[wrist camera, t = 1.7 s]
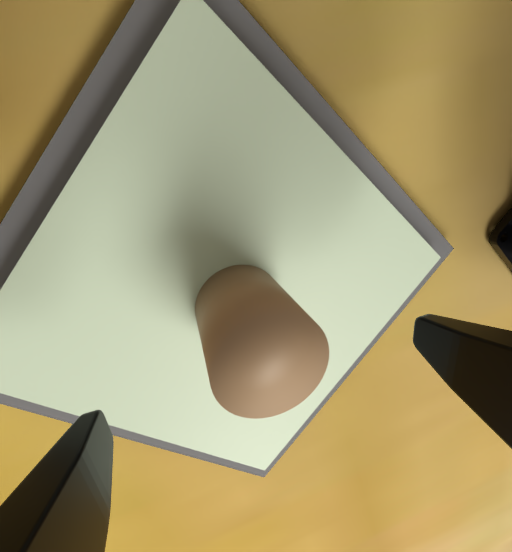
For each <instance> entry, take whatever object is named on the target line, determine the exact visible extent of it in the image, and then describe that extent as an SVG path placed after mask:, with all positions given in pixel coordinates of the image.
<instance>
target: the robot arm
mask: <svg viewBox="0 0 512 552" xmlns="http://www.w3.org/2000/svg"><path fill="white" fill-rule="evenodd" d="M489 242H490V244H491V245H492V247H493V248H494V249H495V250H496V252H497V253H498V254H499V256H500V257H501V258H502V260H503V261H504V262H505V264H506V265H507V266H508V268H509V269H510V270H511V272H512V208H511V209H510V211H509V212H508V213H507V214H506V215H505V216H504V218H503V219H502V220H501V221H500V222H499V224H498V225H497V226H496V227H495V228H494V230H493V231H492V232H491V234H490V237H489ZM413 343H414V345H415V347H416V348H417V350H418V351H419V352H420V353H421V354H422V356H423V357H424V358H425V359H426V360H427V361H428V363H429V364H430V365H431V366H432V367H433V368H434V370H435V371H436V372H437V373H438V374H439V375H440V377H441V378H442V379H443V380H444V381H445V382H446V383H447V385H448V386H449V387H450V388H451V389H452V390H453V391H454V392H455V393H456V394H457V395H458V396H459V397H460V398H461V399H462V400H463V401H464V402H465V403H466V404H467V405H468V406H469V407H470V408H471V409H472V410H473V411H474V412H475V413H476V414H477V415H478V416H479V417H480V418H481V419H482V420H483V421H484V422H485V423H486V424H487V425H488V426H489V427H490V428H491V429H492V430H493V431H494V432H495V433H496V434H497V435H498V436H499V437H500V438H501V439H502V440H503V441H504V442H505V443H506V444H507V445H508V446H509V447H510V448H512V331H509V330H504V329H500V328H495V327H490V326H485V325H480V324H476V323H471V322H466V321H461V320H456V319H452V318H447V317H442V316H437V315H432V314H427V315H423V316H420V317H418V318H416V320H415V325H414V334H413ZM112 464H113V435H112V432H111V430H110V427H109V425H108V423H107V420H106V418H105V415H104V413H103V412H102V411H101V410H95V411H91V412H88V413H84V414H82V415H81V416H80V417H79V418H78V419H77V420H76V421H75V422H74V423H73V424H72V426H71V427H70V428H69V429H68V430H67V431H66V432H65V434H64V435H63V436H62V437H61V438H60V439H59V440H58V441H57V443H56V444H55V445H54V446H53V447H52V448H51V449H50V450H49V452H48V453H47V454H46V455H45V456H44V457H43V458H42V459H41V461H40V462H39V463H38V464H37V465H36V466H35V467H34V468H33V470H32V471H31V472H30V473H29V474H28V475H27V476H26V478H25V479H24V480H23V481H22V482H21V483H20V484H19V485H18V487H17V488H16V489H15V490H14V491H13V492H12V493H11V494H10V496H9V497H8V498H7V499H6V500H5V501H4V502H3V503H2V505H1V506H0V552H105V546H106V539H107V532H108V525H109V517H110V507H111V487H112Z"/></svg>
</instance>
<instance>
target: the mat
mask: <svg viewBox="0 0 512 552" xmlns="http://www.w3.org/2000/svg"><path fill="white" fill-rule="evenodd" d="M203 1H204V2H205V3H206V4H207V5H208V6H209V7H210V8H211V9H212V10H213V12H214V13H215V14H216V15H217V16H218V17H219V18H220V19H221V20H222V21H223V22H224V23H225V25H226V26H227V27H228V28H229V29H230V30H231V31H232V32H233V33H234V34H235V35H236V36H237V37H238V39H239V40H240V41H241V42H242V43H243V44H244V45H245V46H246V47H247V48H248V49H249V50H250V52H251V53H252V54H253V55H254V56H255V57H256V58H257V59H258V60H259V61H260V62H261V63H262V65H263V66H264V67H265V68H266V69H267V70H268V71H269V72H270V73H271V74H272V75H273V76H274V78H275V79H276V80H277V81H278V82H279V83H280V84H281V85H282V86H283V87H284V88H285V89H286V90H287V92H288V93H289V94H290V95H291V96H292V97H293V98H294V99H295V100H296V101H297V102H298V103H299V105H300V106H301V107H302V108H303V109H304V110H305V111H306V112H307V113H308V114H309V115H310V116H311V118H312V119H313V120H314V121H315V122H316V123H317V124H318V125H319V126H320V127H321V128H322V129H323V131H324V132H325V133H326V134H327V135H328V136H329V137H330V138H331V139H332V140H333V141H334V142H335V143H336V145H337V146H338V147H339V148H340V149H341V150H342V151H343V152H344V153H345V154H346V155H347V156H348V158H349V159H350V160H351V161H352V162H353V163H354V164H355V165H356V166H357V167H358V168H359V169H360V171H361V172H362V173H363V174H364V175H365V176H366V177H367V178H368V179H369V180H370V181H371V182H372V184H373V185H374V186H375V187H376V188H377V189H378V190H379V191H380V192H381V193H382V194H383V195H384V196H385V198H386V199H387V200H388V201H389V202H390V203H391V204H392V205H393V206H394V207H395V208H396V209H397V211H398V212H399V213H400V214H401V215H402V216H403V217H404V218H405V219H406V220H407V221H408V222H409V224H410V225H411V226H412V227H413V228H414V229H415V230H416V231H417V232H418V233H419V234H420V235H421V237H422V238H423V239H424V240H425V241H426V242H427V243H428V244H429V245H430V246H431V247H432V248H433V249H434V251H435V252H436V253H437V254H438V255H439V256H440V257H441V258H440V259H439V260H438V262H437V263H436V264H435V265H434V266H433V268H432V269H431V270H430V271H429V273H428V274H427V275H426V276H425V277H424V279H423V280H422V281H421V282H420V283H419V285H418V286H417V287H416V288H415V289H414V291H413V292H412V293H411V294H410V295H409V297H408V298H407V299H406V300H405V302H404V303H403V304H402V305H401V306H400V308H399V309H398V310H397V311H396V312H395V314H394V315H393V316H392V317H391V318H390V320H389V321H388V322H387V323H386V325H385V326H384V327H383V328H382V329H381V331H380V332H379V333H378V334H377V335H376V337H375V338H374V339H373V340H372V341H371V343H370V344H369V345H368V346H367V348H366V349H365V350H364V351H363V352H362V354H361V355H360V356H359V357H358V358H357V360H356V361H355V362H354V363H353V364H352V366H351V367H350V368H349V369H348V371H347V372H346V373H345V374H344V375H343V377H342V378H341V379H340V380H339V381H338V383H337V384H336V385H335V386H334V387H333V389H332V390H331V391H330V392H329V394H328V395H327V396H326V397H325V398H324V400H323V401H322V402H321V403H320V404H319V406H318V407H317V408H316V409H315V410H314V412H313V413H312V414H311V415H310V417H309V418H308V419H307V420H306V421H305V423H304V424H303V425H302V426H301V427H300V429H299V430H298V431H297V432H296V433H295V435H294V436H293V437H292V438H291V440H290V441H289V442H288V443H287V444H286V446H285V447H284V448H283V449H282V450H281V452H280V453H279V454H278V455H277V456H276V458H275V459H274V460H273V461H272V463H271V464H270V465H269V466H268V467H267V469H266V470H261V469H258V468H254V467H251V466H248V465H244V464H241V463H237V462H234V461H231V460H227V459H224V458H220V457H217V456H213V455H210V454H207V453H203V452H200V451H196V450H193V449H190V448H186V447H183V446H179V445H176V444H172V443H169V442H166V441H162V440H159V439H155V438H152V437H149V436H145V435H142V434H138V433H135V432H131V431H128V430H125V429H121V428H118V427H114V426H111V425H109V427H110V430H111V432H112V435H115V436H118V437H122V438H125V439H129V440H133V441H136V442H140V443H143V444H147V445H150V446H154V447H158V448H161V449H165V450H168V451H172V452H176V453H179V454H183V455H186V456H190V457H193V458H197V459H201V460H204V461H208V462H211V463H215V464H219V465H222V466H226V467H229V468H233V469H236V470H240V471H244V472H247V473H251V474H254V475H258V476H261V477H265V476H266V474H267V473H268V472H269V471H270V470H271V468H272V467H273V466H274V465H275V464H276V462H277V461H278V460H279V459H280V458H281V456H282V455H283V454H284V453H285V451H286V450H287V449H288V448H289V447H290V445H291V444H292V443H293V442H294V441H295V439H296V438H297V437H298V436H299V435H300V433H301V432H302V431H303V430H304V429H305V427H306V426H307V425H308V424H309V423H310V421H311V420H312V419H313V418H314V417H315V415H316V414H317V413H318V412H319V410H320V409H321V408H322V407H323V406H324V404H325V403H326V402H327V401H328V400H329V398H330V397H331V396H332V395H333V394H334V392H335V391H336V390H337V389H338V388H339V386H340V385H341V384H342V383H343V382H344V380H345V379H346V378H347V377H348V375H349V374H350V373H351V372H352V371H353V369H354V368H355V367H356V366H357V365H358V363H359V362H360V361H361V360H362V359H363V357H364V356H365V355H366V354H367V353H368V351H369V350H370V349H371V348H372V347H373V345H374V344H375V343H376V342H377V341H378V339H379V338H380V337H381V336H382V334H383V333H384V332H385V331H386V330H387V328H388V327H389V326H390V325H391V324H392V322H393V321H394V320H395V319H396V318H397V316H398V315H399V314H400V313H401V312H402V310H403V309H404V308H405V307H406V306H407V304H408V303H409V302H410V301H411V299H412V298H413V297H414V296H415V295H416V293H417V292H418V291H419V290H420V289H421V287H422V286H423V285H424V284H425V283H426V281H427V280H428V279H429V278H430V277H431V275H432V274H433V273H434V272H435V271H436V269H437V268H438V267H439V266H440V264H441V263H442V262H443V261H444V260H445V258H446V257H447V256H448V255H449V254H450V252H451V251H452V250H453V249H454V248H453V247H452V246H451V245H450V244H449V243H448V241H447V240H446V239H445V238H444V237H443V236H442V235H441V233H440V232H439V231H438V230H437V229H436V228H435V226H434V225H433V224H432V223H431V222H430V221H429V220H428V218H427V217H426V216H425V215H424V214H423V213H422V211H421V210H420V209H419V208H418V207H417V206H416V205H415V203H414V202H413V201H412V200H411V199H410V198H409V197H408V195H407V194H406V193H405V192H404V191H403V190H402V188H401V187H400V186H399V185H398V184H397V183H396V182H395V180H394V179H393V178H392V177H391V176H390V175H389V173H388V172H387V171H386V170H385V169H384V168H383V167H382V165H381V164H380V163H379V162H378V161H377V160H376V158H375V157H374V156H373V155H372V154H371V153H370V152H369V150H368V149H367V148H366V147H365V146H364V145H363V144H362V142H361V141H360V140H359V139H358V138H357V137H356V135H355V134H354V133H353V132H352V131H351V130H350V129H349V127H348V126H347V125H346V124H345V123H344V122H343V120H342V119H341V118H340V117H339V116H338V115H337V114H336V112H335V111H334V110H333V109H332V108H331V107H330V105H329V104H328V103H327V102H326V101H325V100H324V99H323V97H322V96H321V95H320V94H319V93H318V92H317V91H316V89H315V88H314V87H313V86H312V85H311V84H310V82H309V81H308V80H307V79H306V78H305V77H304V76H303V74H302V73H301V72H300V71H299V70H298V69H297V67H296V66H295V65H294V64H293V63H292V62H291V61H290V59H289V58H288V57H287V56H286V55H285V54H284V52H283V51H282V50H281V49H280V48H279V47H278V46H277V44H276V43H275V42H274V41H273V40H272V39H271V38H270V36H269V35H268V34H267V33H266V32H265V31H264V29H263V28H262V27H261V26H260V25H259V24H258V23H257V21H256V20H255V19H254V18H253V17H252V16H251V14H250V13H249V12H248V11H247V10H246V9H245V8H244V6H243V5H242V4H241V3H240V2H239V1H238V0H203ZM179 2H180V0H135V1H134V3H133V5H132V6H131V8H130V10H129V11H128V13H127V15H126V16H125V18H124V20H123V21H122V23H121V25H120V26H119V28H118V30H117V31H116V33H115V35H114V36H113V38H112V40H111V41H110V43H109V45H108V46H107V48H106V50H105V51H104V53H103V55H102V56H101V58H100V60H99V61H98V63H97V65H96V66H95V68H94V69H93V71H92V73H91V74H90V76H89V78H88V79H87V81H86V83H85V84H84V86H83V88H82V89H81V91H80V93H79V94H78V96H77V98H76V99H75V101H74V103H73V104H72V106H71V108H70V109H69V111H68V113H67V114H66V116H65V118H64V119H63V121H62V123H61V124H60V126H59V128H58V129H57V131H56V133H55V134H54V136H53V138H52V139H51V141H50V143H49V144H48V146H47V148H46V149H45V151H44V152H43V154H42V156H41V157H40V159H39V161H38V162H37V164H36V166H35V167H34V169H33V171H32V172H31V174H30V176H29V177H28V179H27V181H26V182H25V184H24V186H23V187H22V189H21V191H20V192H19V194H18V196H17V197H16V199H15V201H14V202H13V204H12V206H11V207H10V209H9V211H8V212H7V214H6V216H5V217H4V219H3V221H2V222H1V224H0V290H1V288H2V287H3V285H4V283H5V282H6V280H7V279H8V277H9V275H10V274H11V272H12V271H13V269H14V267H15V266H16V264H17V262H18V261H19V259H20V258H21V256H22V254H23V253H24V251H25V250H26V248H27V246H28V245H29V243H30V242H31V240H32V238H33V237H34V235H35V234H36V232H37V230H38V229H39V227H40V226H41V224H42V222H43V221H44V219H45V217H46V216H47V214H48V213H49V211H50V209H51V208H52V206H53V205H54V203H55V201H56V200H57V198H58V197H59V195H60V193H61V192H62V190H63V189H64V187H65V185H66V184H67V182H68V181H69V179H70V177H71V176H72V174H73V172H74V171H75V169H76V168H77V166H78V164H79V163H80V161H81V160H82V158H83V156H84V155H85V153H86V152H87V150H88V148H89V147H90V145H91V144H92V142H93V140H94V139H95V137H96V135H97V134H98V132H99V131H100V129H101V127H102V126H103V124H104V123H105V121H106V119H107V118H108V116H109V115H110V113H111V111H112V110H113V108H114V107H115V105H116V103H117V102H118V100H119V99H120V97H121V95H122V94H123V92H124V90H125V89H126V87H127V86H128V84H129V82H130V81H131V79H132V78H133V76H134V74H135V73H136V71H137V70H138V68H139V66H140V65H141V63H142V62H143V60H144V58H145V57H146V55H147V53H148V52H149V50H150V49H151V47H152V45H153V44H154V42H155V41H156V39H157V37H158V36H159V34H160V33H161V31H162V29H163V28H164V26H165V25H166V23H167V21H168V20H169V18H170V17H171V15H172V13H173V12H174V10H175V8H176V7H177V5H178V4H179ZM0 404H4V405H7V406H11V407H14V408H18V409H21V410H25V411H29V412H32V413H36V414H39V415H43V416H47V417H50V418H54V419H57V420H61V421H64V422H68V423H72V424H73V423H74V422H75V421H76V420H77V419H78V418H79V417H80V416H77V415H73V414H70V413H67V412H63V411H60V410H56V409H53V408H49V407H46V406H43V405H39V404H36V403H32V402H29V401H26V400H22V399H19V398H15V397H12V396H8V395H5V394H2V393H0Z"/></svg>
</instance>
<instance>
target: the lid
mask: <svg viewBox="0 0 512 552" xmlns="http://www.w3.org/2000/svg"><path fill="white" fill-rule="evenodd" d="M440 258H441V257H440V256H439V255H438V254H437V253H436V252H435V251H434V249H433V248H432V247H431V246H430V245H429V244H428V243H427V242H426V241H425V240H424V239H423V238H422V237H421V235H420V234H419V233H418V232H417V231H416V230H415V229H414V228H413V227H412V226H411V225H410V224H409V222H408V221H407V220H406V219H405V218H404V217H403V216H402V215H401V214H400V213H399V212H398V211H397V209H396V208H395V207H394V206H393V205H392V204H391V203H390V202H389V201H388V200H387V199H386V198H385V196H384V195H383V194H382V193H381V192H380V191H379V190H378V189H377V188H376V187H375V186H374V185H373V184H372V182H371V181H370V180H369V179H368V178H367V177H366V176H365V175H364V174H363V173H362V172H361V171H360V169H359V168H358V167H357V166H356V165H355V164H354V163H353V162H352V161H351V160H350V159H349V158H348V156H347V155H346V154H345V153H344V152H343V151H342V150H341V149H340V148H339V147H338V146H337V145H336V143H335V142H334V141H333V140H332V139H331V138H330V137H329V136H328V135H327V134H326V133H325V132H324V131H323V129H322V128H321V127H320V126H319V125H318V124H317V123H316V122H315V121H314V120H313V119H312V118H311V116H310V115H309V114H308V113H307V112H306V111H305V110H304V109H303V108H302V107H301V106H300V105H299V103H298V102H297V101H296V100H295V99H294V98H293V97H292V96H291V95H290V94H289V93H288V92H287V90H286V89H285V88H284V87H283V86H282V85H281V84H280V83H279V82H278V81H277V80H276V79H275V78H274V76H273V75H272V74H271V73H270V72H269V71H268V70H267V69H266V68H265V67H264V66H263V65H262V63H261V62H260V61H259V60H258V59H257V58H256V57H255V56H254V55H253V54H252V53H251V52H250V50H249V49H248V48H247V47H246V46H245V45H244V44H243V43H242V42H241V41H240V40H239V39H238V37H237V36H236V35H235V34H234V33H233V32H232V31H231V30H230V29H229V28H228V27H227V26H226V25H225V23H224V22H223V21H222V20H221V19H220V18H219V17H218V16H217V15H216V14H215V13H214V12H213V10H212V9H211V8H210V7H209V6H208V5H207V4H206V3H205V2H204V1H203V0H180V2H179V4H178V5H177V7H176V8H175V10H174V12H173V13H172V15H171V17H170V18H169V20H168V21H167V23H166V25H165V26H164V28H163V29H162V31H161V33H160V34H159V36H158V37H157V39H156V41H155V42H154V44H153V45H152V47H151V49H150V50H149V52H148V53H147V55H146V57H145V58H144V60H143V62H142V63H141V65H140V66H139V68H138V70H137V71H136V73H135V74H134V76H133V78H132V79H131V81H130V82H129V84H128V86H127V87H126V89H125V90H124V92H123V94H122V95H121V97H120V99H119V100H118V102H117V103H116V105H115V107H114V108H113V110H112V111H111V113H110V115H109V116H108V118H107V119H106V121H105V123H104V124H103V126H102V127H101V129H100V131H99V132H98V134H97V135H96V137H95V139H94V140H93V142H92V144H91V145H90V147H89V148H88V150H87V152H86V153H85V155H84V156H83V158H82V160H81V161H80V163H79V164H78V166H77V168H76V169H75V171H74V172H73V174H72V176H71V177H70V179H69V181H68V182H67V184H66V185H65V187H64V189H63V190H62V192H61V193H60V195H59V197H58V198H57V200H56V201H55V203H54V205H53V206H52V208H51V209H50V211H49V213H48V214H47V216H46V217H45V219H44V221H43V222H42V224H41V226H40V227H39V229H38V230H37V232H36V234H35V235H34V237H33V238H32V240H31V242H30V243H29V245H28V246H27V248H26V250H25V251H24V253H23V254H22V256H21V258H20V259H19V261H18V262H17V264H16V266H15V267H14V269H13V271H12V272H11V274H10V275H9V277H8V279H7V280H6V282H5V283H4V285H3V287H2V288H1V290H0V393H2V394H5V395H8V396H12V397H15V398H19V399H22V400H26V401H29V402H32V403H36V404H39V405H43V406H46V407H49V408H53V409H56V410H60V411H63V412H67V413H70V414H73V415H77V416H81V415H82V414H84V413H88V412H91V411H95V410H101V411H102V412H103V413H104V415H105V418H106V420H107V423H108V425H111V426H114V427H118V428H121V429H125V430H128V431H131V432H135V433H138V434H142V435H145V436H149V437H152V438H155V439H159V440H162V441H166V442H169V443H172V444H176V445H179V446H183V447H186V448H190V449H193V450H196V451H200V452H203V453H207V454H210V455H213V456H217V457H220V458H224V459H227V460H231V461H234V462H237V463H241V464H244V465H248V466H251V467H254V468H258V469H261V470H266V469H267V467H268V466H269V465H270V464H271V463H272V461H273V460H274V459H275V458H276V456H277V455H278V454H279V453H280V452H281V450H282V449H283V448H284V447H285V446H286V444H287V443H288V442H289V441H290V440H291V438H292V437H293V436H294V435H295V433H296V432H297V431H298V430H299V429H300V427H301V426H302V425H303V424H304V423H305V421H306V420H307V419H308V418H309V417H310V415H311V414H312V413H313V412H314V410H315V409H316V408H317V407H318V406H319V404H320V403H321V402H322V401H323V400H324V398H325V397H326V396H327V395H328V394H329V392H330V391H331V390H332V389H333V387H334V386H335V385H336V384H337V383H338V381H339V380H340V379H341V378H342V377H343V375H344V374H345V373H346V372H347V371H348V369H349V368H350V367H351V366H352V364H353V363H354V362H355V361H356V360H357V358H358V357H359V356H360V355H361V354H362V352H363V351H364V350H365V349H366V348H367V346H368V345H369V344H370V343H371V341H372V340H373V339H374V338H375V337H376V335H377V334H378V333H379V332H380V331H381V329H382V328H383V327H384V326H385V325H386V323H387V322H388V321H389V320H390V318H391V317H392V316H393V315H394V314H395V312H396V311H397V310H398V309H399V308H400V306H401V305H402V304H403V303H404V302H405V300H406V299H407V298H408V297H409V295H410V294H411V293H412V292H413V291H414V289H415V288H416V287H417V286H418V285H419V283H420V282H421V281H422V280H423V279H424V277H425V276H426V275H427V274H428V273H429V271H430V270H431V269H432V268H433V266H434V265H435V264H436V263H437V262H438V260H439V259H440Z"/></svg>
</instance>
